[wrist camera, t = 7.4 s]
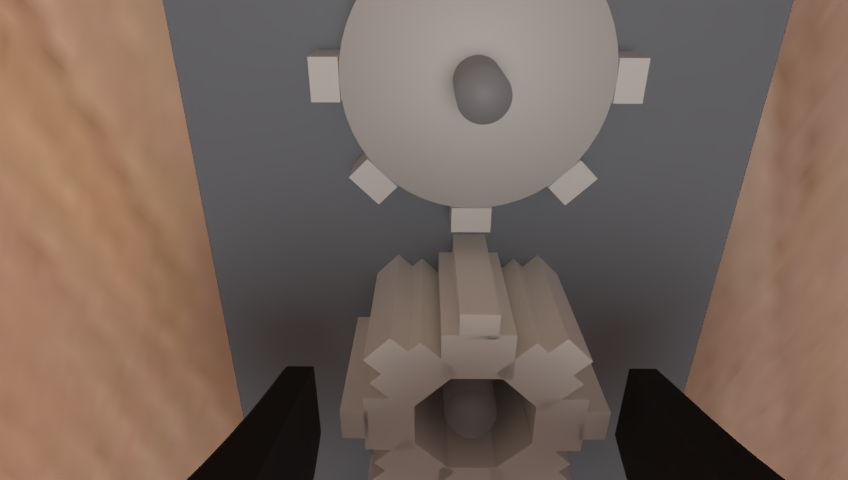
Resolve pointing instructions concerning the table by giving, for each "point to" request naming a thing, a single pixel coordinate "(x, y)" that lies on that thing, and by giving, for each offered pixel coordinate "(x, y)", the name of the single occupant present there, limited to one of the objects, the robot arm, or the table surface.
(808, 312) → the table surface
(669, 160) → the gear board
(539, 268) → the idler gear
